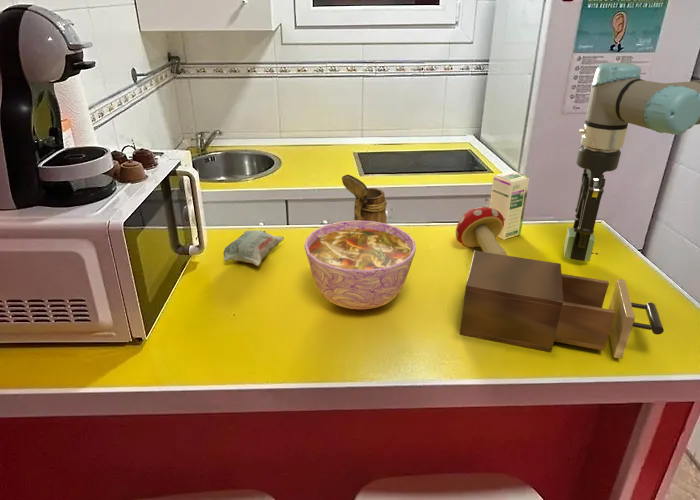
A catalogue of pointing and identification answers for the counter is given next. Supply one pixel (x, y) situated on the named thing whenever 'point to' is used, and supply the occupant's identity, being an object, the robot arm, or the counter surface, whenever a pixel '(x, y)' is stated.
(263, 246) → the packaged food
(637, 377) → the counter surface
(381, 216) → the wooden mug
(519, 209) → the syrup box
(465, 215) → the decorative mushroom
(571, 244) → the block
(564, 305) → the drawer
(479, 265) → the cabinet
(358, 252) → the bowl of food
